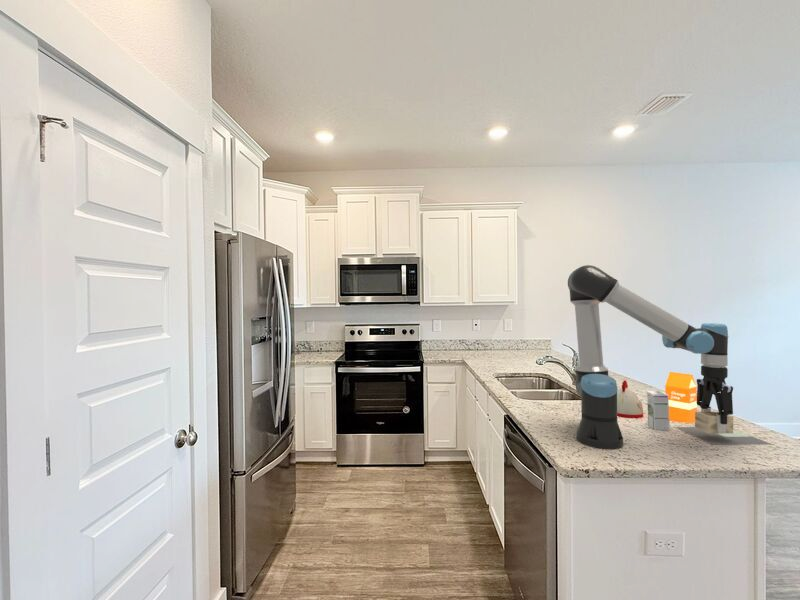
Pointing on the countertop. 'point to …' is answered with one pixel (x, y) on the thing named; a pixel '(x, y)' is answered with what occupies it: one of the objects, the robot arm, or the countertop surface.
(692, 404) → the orange juice
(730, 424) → the maple block
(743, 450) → the countertop surface
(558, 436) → the countertop surface
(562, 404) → the countertop surface
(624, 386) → the kitchen timer
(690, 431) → the rubber mat
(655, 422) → the syrup box
